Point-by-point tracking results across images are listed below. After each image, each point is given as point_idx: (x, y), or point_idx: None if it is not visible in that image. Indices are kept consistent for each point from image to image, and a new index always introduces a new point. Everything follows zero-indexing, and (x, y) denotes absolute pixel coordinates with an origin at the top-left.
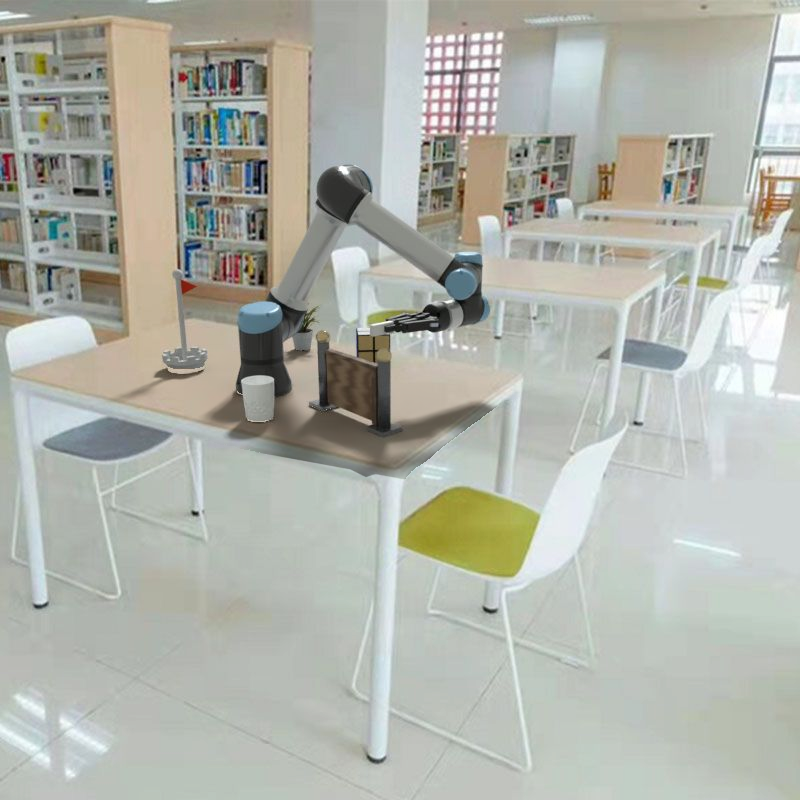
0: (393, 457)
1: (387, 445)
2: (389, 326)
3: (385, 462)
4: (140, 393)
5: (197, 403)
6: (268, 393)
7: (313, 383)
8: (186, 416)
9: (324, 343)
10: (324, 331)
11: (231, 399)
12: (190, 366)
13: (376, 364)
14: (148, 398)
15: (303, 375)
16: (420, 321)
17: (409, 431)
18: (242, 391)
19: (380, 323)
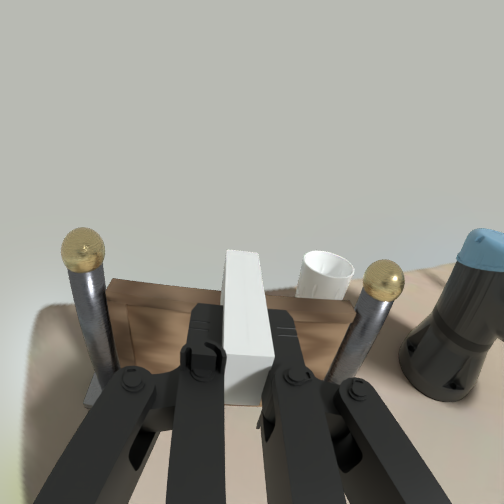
0: (48, 323)
1: (74, 348)
2: (194, 315)
3: (52, 309)
4: (438, 283)
5: (398, 299)
6: (301, 278)
7: (455, 439)
8: (357, 279)
9: (362, 288)
10: (383, 262)
11: (405, 325)
12: None
13: (120, 288)
14: (423, 282)
15: (495, 435)
16: (39, 501)
17: (73, 412)
18: (327, 266)
19: (244, 284)
